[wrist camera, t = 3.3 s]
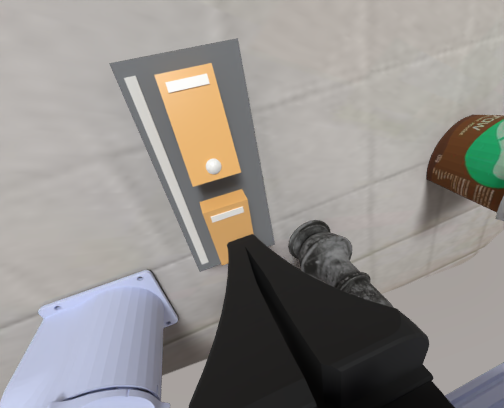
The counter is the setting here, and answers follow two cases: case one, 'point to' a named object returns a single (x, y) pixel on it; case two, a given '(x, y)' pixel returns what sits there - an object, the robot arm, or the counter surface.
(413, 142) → the counter surface
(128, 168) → the counter surface
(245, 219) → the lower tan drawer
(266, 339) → the robot arm
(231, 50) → the rocker switch panel
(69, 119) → the counter surface
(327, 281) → the salt shaker
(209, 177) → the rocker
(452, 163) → the food container
